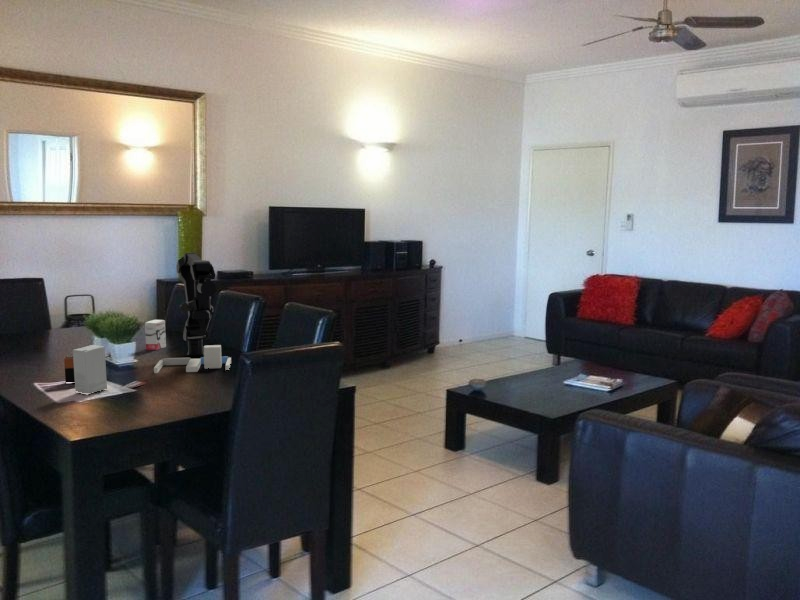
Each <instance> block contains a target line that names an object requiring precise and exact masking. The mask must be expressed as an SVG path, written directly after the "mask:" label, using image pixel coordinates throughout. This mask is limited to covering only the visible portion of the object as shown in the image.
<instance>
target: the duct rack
mask: <svg viewBox="0 0 800 600" xmlns="http://www.w3.org/2000/svg"><path fill="white" fill-rule="evenodd" d="M221 358H222V364H225V371H226V370H229V371H230V369H229V368H231V365H230V364H232V356H231V357H230V356H228V355H227V356H226V355H225V356H222V355H221ZM185 365H186V366H185ZM201 365H204V356H201V357H200V358H191V357H169V358H168V357H167V358H166V357H165V358H162V359H159V361H158V362H157V363H156V365H155V366H154V367H153V373H154V374H158V373H159V372H160V370H161V369H162V368H163V366H185V372H186V373H197V372H198V371H199V369H200V367H201Z"/></svg>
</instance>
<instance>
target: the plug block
mask: <svg viewBox="0 0 800 600" xmlns="http://www.w3.org/2000/svg"><path fill="white" fill-rule="evenodd" d="M203 351H204V355H203V357H204V364H203V365H204V366H203V367H204V370H206V369H207V370H209V369H221V368H222V365H223V363H222V358H221V357H222V345H221V344H213V345H212V344H211V345H207V344H206V345H204V346H203ZM208 368H209V369H208Z"/></svg>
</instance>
